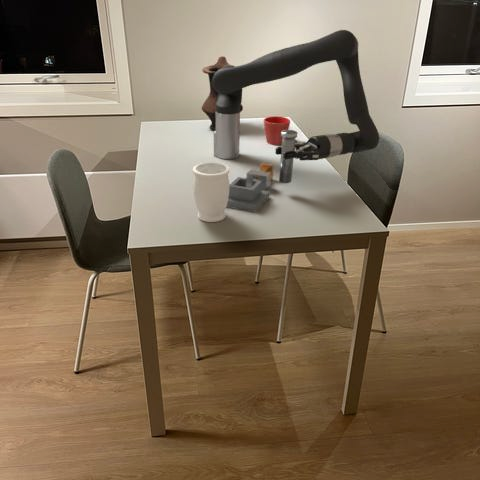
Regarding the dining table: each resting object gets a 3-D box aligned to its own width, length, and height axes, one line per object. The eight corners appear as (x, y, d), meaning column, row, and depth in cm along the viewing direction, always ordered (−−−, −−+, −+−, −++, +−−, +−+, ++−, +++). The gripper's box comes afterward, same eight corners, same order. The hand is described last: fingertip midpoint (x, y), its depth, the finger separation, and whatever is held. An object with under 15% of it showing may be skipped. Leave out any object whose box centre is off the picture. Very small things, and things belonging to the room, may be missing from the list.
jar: (194, 208, 146) (192, 161, 139) (228, 208, 147) (228, 161, 140) (194, 224, 137) (192, 175, 129) (230, 224, 138) (230, 174, 130)
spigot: (275, 182, 154) (278, 133, 146) (280, 176, 158) (283, 128, 150) (290, 184, 152) (294, 135, 145) (294, 179, 157) (299, 131, 149)
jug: (242, 135, 212) (243, 63, 197) (200, 134, 212) (198, 63, 197) (242, 122, 230) (244, 56, 216) (204, 121, 230) (203, 55, 216)
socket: (219, 205, 149) (219, 187, 146) (234, 191, 158) (234, 173, 155) (256, 212, 145) (256, 193, 142) (269, 197, 155) (270, 179, 152)
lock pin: (261, 176, 169) (261, 163, 167) (272, 178, 168) (273, 164, 165) (248, 189, 159) (248, 174, 157) (260, 191, 158) (261, 176, 155)
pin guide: (246, 187, 161) (246, 173, 158) (250, 183, 164) (250, 169, 161) (265, 191, 159) (266, 176, 156) (269, 187, 162) (270, 172, 159)
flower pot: (281, 148, 198) (282, 124, 193) (258, 143, 203) (259, 120, 198) (293, 141, 206) (294, 119, 201) (270, 137, 211) (271, 114, 206)
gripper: (313, 129, 160) (268, 135, 153) (339, 141, 149) (293, 149, 142) (310, 150, 164) (267, 157, 157) (336, 164, 153) (291, 172, 146)
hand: (280, 153), depth 149 cm, fingers closed on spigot, 4 cm apart
